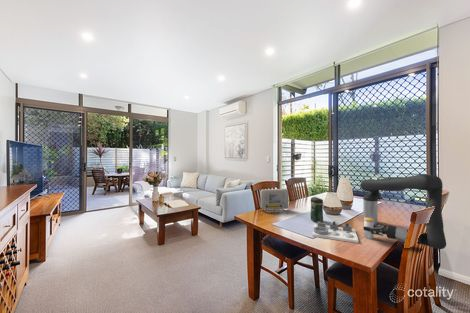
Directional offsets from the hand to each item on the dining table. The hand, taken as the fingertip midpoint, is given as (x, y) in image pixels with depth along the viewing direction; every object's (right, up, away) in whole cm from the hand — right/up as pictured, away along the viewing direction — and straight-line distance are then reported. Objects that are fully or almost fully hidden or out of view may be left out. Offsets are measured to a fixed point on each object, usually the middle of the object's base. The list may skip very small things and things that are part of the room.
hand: (365, 226), depth 131 cm
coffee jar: (-19, -7, +31) cm, 37 cm away
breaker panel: (-18, -7, +5) cm, 19 cm away
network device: (-47, -6, +61) cm, 77 cm away
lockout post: (+1, -7, -1) cm, 7 cm away
